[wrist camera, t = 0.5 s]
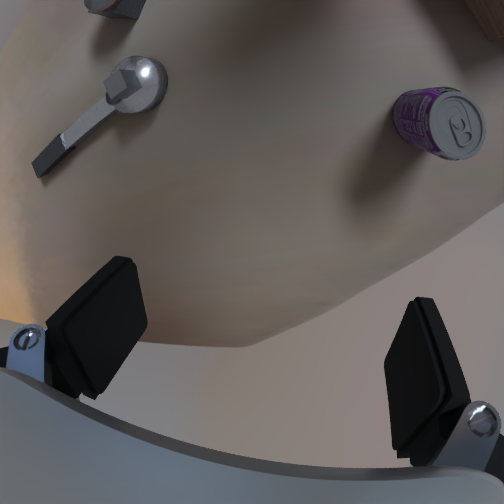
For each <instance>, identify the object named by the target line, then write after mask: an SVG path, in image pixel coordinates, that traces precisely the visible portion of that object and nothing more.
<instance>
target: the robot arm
mask: <svg viewBox="0 0 504 504" xmlns="http://www.w3.org/2000/svg"><path fill="white" fill-rule="evenodd" d="M45 323H46V325H47V327H48V329H47V330H46V331H45V330H44V329H43V327H41V326H40V325H37V324H29V325H26V326H23V327H22V328H20V329H18V330H17V331H16V332H15V333H14V334H13V336H12V337H11V340H10V343H9V346H8V347H4V348H0V504H504V436H503V435H502V434H500V429H501V419H500V416H499V413H498V412H497V410H496V409H495V408H494V407H493V406H492V405H490V404H489V403H486V402H484V401H474V402H472V403H471V399H470V393H469V390H468V387H467V384H466V381H465V378H464V375H463V372H462V369H461V366H460V364H459V361H458V358H457V355H456V353H455V350H454V348H453V345H452V342H451V340H450V337H449V335H448V332H447V330H446V327H445V325H444V323H443V320H442V318H441V316H440V313H439V311H438V309H437V307H436V305H435V303H434V300H433V299H432V298H424V297H416V298H415V299H414V301H410V302H409V304H408V306H407V309H406V311H405V314H404V316H403V319H402V321H401V324H400V326H399V328H398V331H397V333H396V335H395V338H394V340H393V342H392V344H391V347H390V349H389V351H388V354H387V356H386V358H385V361H384V370H385V378H386V386H387V394H388V401H389V412H390V422H391V435H392V447H393V449H394V450H397V458H410V464H411V466H410V467H404V468H335V467H320V466H308V465H297V464H289V463H282V462H274V461H268V460H261V459H256V458H250V457H245V456H240V455H235V454H230V453H226V452H221V451H217V450H213V449H209V448H205V447H200V446H197V445H193V444H190V443H186V442H183V441H180V440H176V439H173V438H170V437H167V436H164V435H161V434H158V433H155V432H152V431H149V430H146V429H144V428H141V427H138V426H135V425H133V424H130V423H128V422H125V421H123V420H120V419H118V418H115V417H113V416H110V415H108V414H106V413H103V412H101V411H99V410H97V409H94V408H92V407H90V406H88V405H86V404H84V403H82V402H80V400H79V395H80V394H81V393H83V395H85V396H87V397H89V398H91V399H94V400H95V399H96V398H97V396H98V395H99V394H102V393H103V392H104V391H105V389H106V388H107V386H108V385H109V383H110V382H111V380H112V379H113V377H114V375H115V374H116V373H117V371H118V370H119V368H120V367H121V365H122V364H123V362H124V361H125V359H126V358H127V356H128V355H129V353H130V352H131V350H132V349H133V347H134V346H135V344H136V343H137V341H138V340H139V339H140V337H141V336H142V334H143V333H144V331H145V330H146V328H147V316H146V312H145V307H144V303H143V298H142V293H141V288H140V283H139V278H138V272H137V267H136V264H135V263H133V261H132V259H131V258H128V257H122V256H115V257H113V258H112V259H111V260H110V261H109V262H108V263H107V264H106V265H104V266H103V267H102V268H101V269H100V270H99V271H98V272H97V273H96V274H94V275H93V276H92V277H91V278H90V279H89V280H88V281H87V282H86V283H85V284H84V285H83V286H82V287H80V288H79V289H78V290H77V291H76V292H75V293H74V294H73V295H72V296H71V297H70V298H69V299H68V300H67V301H66V302H65V303H64V304H63V305H62V306H61V307H60V308H59V309H58V310H57V311H56V312H55V313H54V314H53V315H52V316H51V317H50V318H49V319H48V320H47V321H46V322H45Z"/></svg>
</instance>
